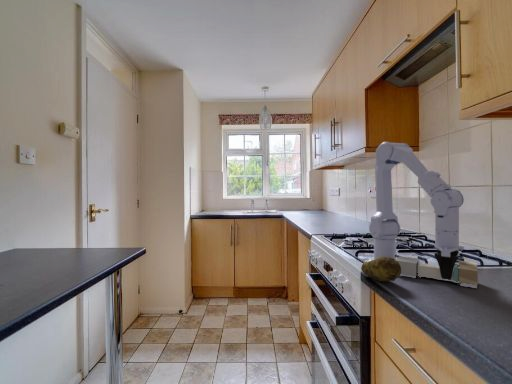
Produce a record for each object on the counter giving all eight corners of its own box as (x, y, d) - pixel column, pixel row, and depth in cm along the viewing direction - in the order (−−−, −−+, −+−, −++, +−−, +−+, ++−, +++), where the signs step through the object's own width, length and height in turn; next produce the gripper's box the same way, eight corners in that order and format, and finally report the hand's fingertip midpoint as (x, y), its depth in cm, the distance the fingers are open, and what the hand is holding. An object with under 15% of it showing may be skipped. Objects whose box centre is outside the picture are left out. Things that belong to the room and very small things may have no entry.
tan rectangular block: (459, 279, 82) (459, 260, 82) (476, 282, 80) (476, 262, 79) (459, 286, 77) (459, 265, 77) (477, 289, 74) (477, 268, 74)
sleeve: (398, 270, 92) (398, 256, 92) (418, 273, 88) (418, 258, 88) (394, 275, 87) (394, 260, 86) (416, 278, 83) (416, 263, 83)
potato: (385, 275, 87) (385, 249, 87) (406, 290, 74) (406, 260, 74) (359, 274, 87) (358, 249, 87) (375, 289, 75) (375, 260, 74)
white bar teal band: (419, 273, 88) (419, 259, 87) (466, 280, 80) (466, 265, 80) (417, 277, 83) (417, 262, 83) (467, 285, 76) (467, 269, 76)
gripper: (464, 235, 73) (463, 286, 73) (463, 228, 84) (463, 272, 84) (432, 232, 77) (432, 280, 77) (436, 226, 88) (436, 268, 89)
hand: (446, 276), depth 81 cm, fingers closed on white bar teal band, 5 cm apart
